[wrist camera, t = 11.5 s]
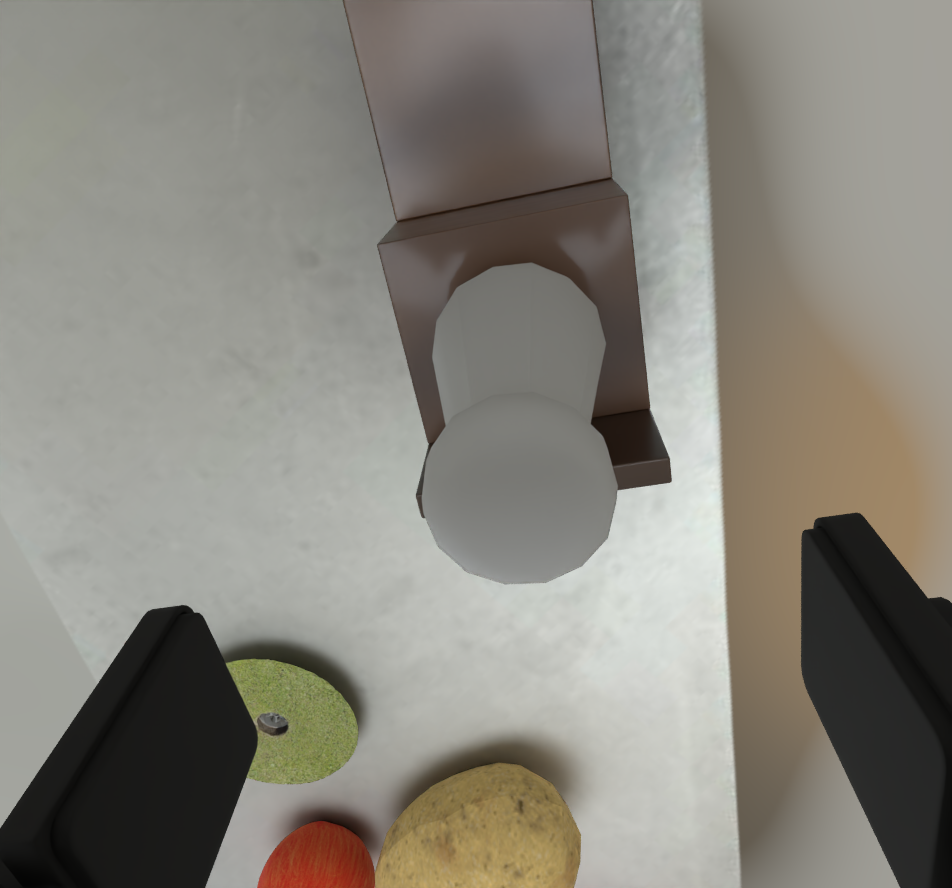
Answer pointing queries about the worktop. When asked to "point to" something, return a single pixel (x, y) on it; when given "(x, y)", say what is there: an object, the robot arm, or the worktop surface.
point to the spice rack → (504, 184)
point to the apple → (319, 860)
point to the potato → (483, 834)
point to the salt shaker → (519, 428)
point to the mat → (294, 722)
